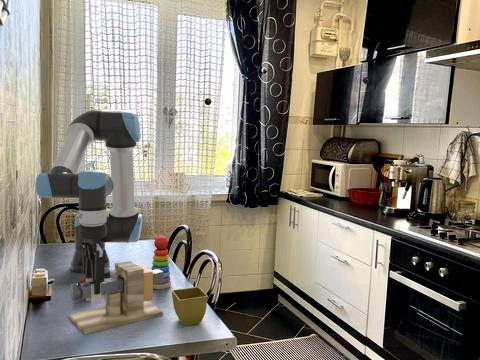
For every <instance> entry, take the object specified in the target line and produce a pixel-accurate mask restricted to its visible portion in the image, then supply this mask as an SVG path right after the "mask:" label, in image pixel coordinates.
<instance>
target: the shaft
mask: <svg viewBox="0 0 480 360" xmlns="http://www.w3.org/2000/svg"><path fill="white" fill-rule="evenodd" d="M150 270H151V271H153V284H158V283H163V282H164V272H163V271H161V270H159V269H156V270H152V269H150ZM91 282H92V281H91ZM120 291H124V278H123V277H122V276H118V277H115V276H113V277H110V278H107V279H104V282H102V283H101V296H104V295H105V294H110V293H115V292H120ZM69 295H70V298H71V301H72V302H73V303H75V302H79V301H80V302H81V301H82V300H86V298H91V285H90V282H86V283H81V284H80V283H79V282H77V283H76V282H75V283H71V284H70V285H69Z"/></svg>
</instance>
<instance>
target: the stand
mask: <svg viewBox="0 0 480 360" xmlns="http://www.w3.org/2000/svg"><path fill="white" fill-rule="evenodd" d="M138 265H139V264H136V263H134V262H132V261H131V260H127V261H121V262H116V263H114V277H118V276H122V277H123V278H124V291H120V292H115V293H110V294H105V300H104V301H105V304H104V305H105V306H100V307H96V308H91V309H87V310H82V311H77V312H73V313H70V314H69V319H70V320H71V321H72V322H73V323H74V324H75V326H76V327H78V329H79V330H80V331H81V332H82V333H83V334H84V336H87V335H90V334H93V333H98V332H101V331H104V330H109V329H113V328H116V327H120V326H121V327H122V326H125V325H128V324H132V323H136V322H141V321H144V320H147V319H152V318H157V317H159V316H164V312H163V311H162V310H161V309H160V308H158V307H157V306H156V305H154V304H153V303H151V302H150V301H145V302H144V269H143V268H141V267H139V266H138Z"/></svg>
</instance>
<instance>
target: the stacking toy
mask: <svg viewBox="0 0 480 360" xmlns="http://www.w3.org/2000/svg"><path fill="white" fill-rule="evenodd" d="M153 245H154V247H155V249H154V250H153V254H154V255H153V256H152V264H151V265H152V266H151V267H150V268H151V269H150V270H156V269H159V270H161V271H163V272H164V282H163V283H158V284H153V290H166V289H169V288H170V287H171V286H172V281H171V271H170V267H171V266H170V265H169V264H170V261H169V255H168V253H169V250H168V248H167V247H168V246H169V239H168V238H167V237H166V236H164V235H159V236H156V238H154V243H153Z"/></svg>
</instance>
